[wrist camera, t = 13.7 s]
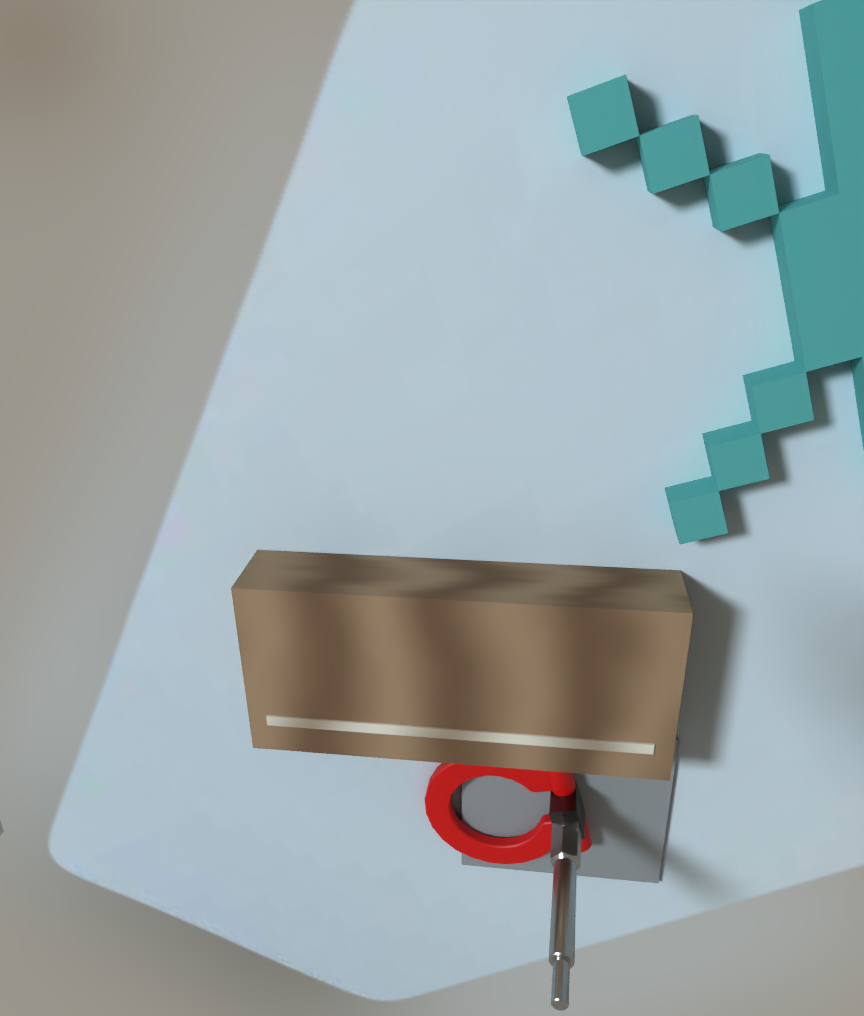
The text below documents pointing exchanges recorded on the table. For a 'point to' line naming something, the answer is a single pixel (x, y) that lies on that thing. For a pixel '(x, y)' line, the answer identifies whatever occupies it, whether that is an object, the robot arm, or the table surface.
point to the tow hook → (525, 846)
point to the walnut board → (465, 661)
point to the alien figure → (797, 237)
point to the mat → (608, 812)
